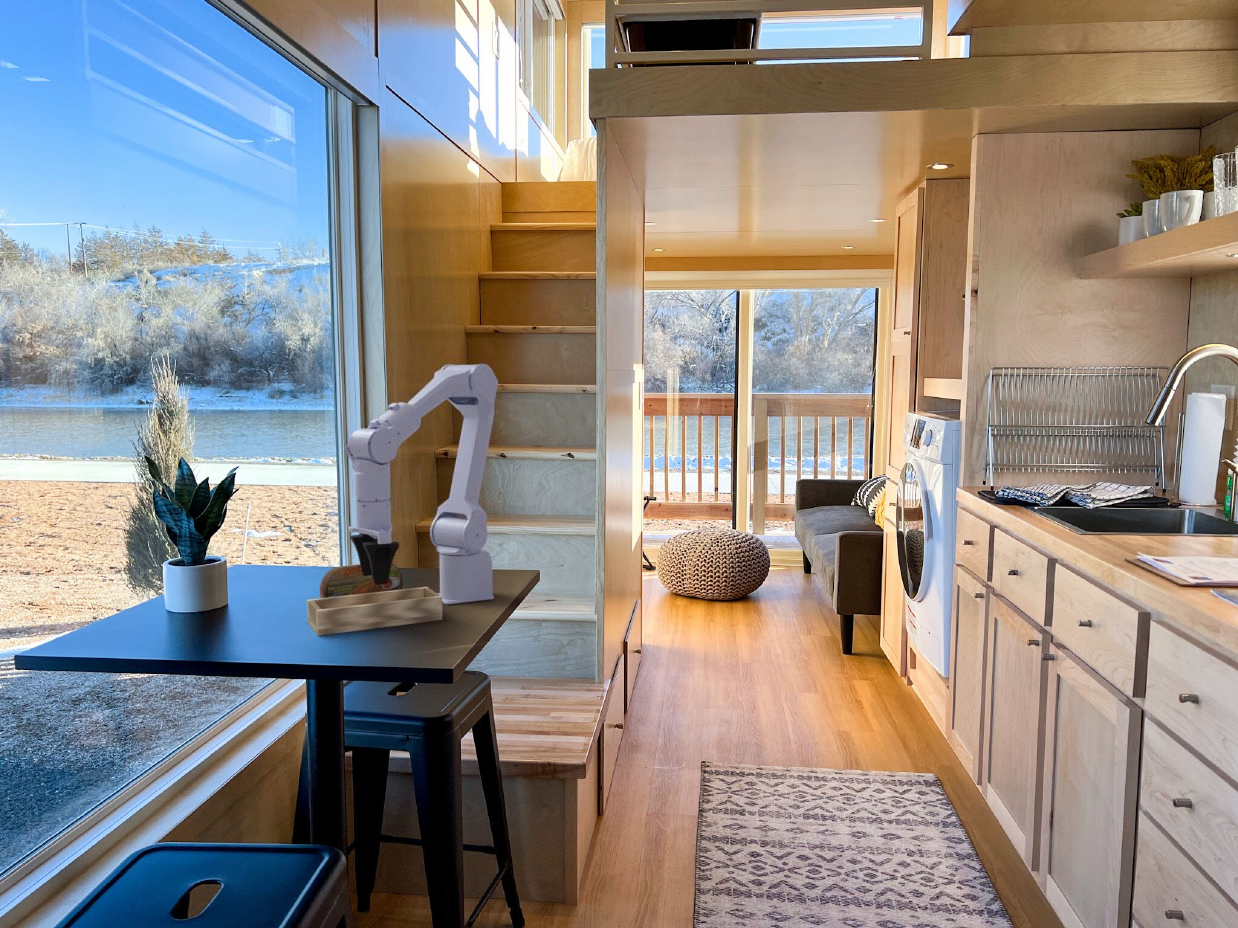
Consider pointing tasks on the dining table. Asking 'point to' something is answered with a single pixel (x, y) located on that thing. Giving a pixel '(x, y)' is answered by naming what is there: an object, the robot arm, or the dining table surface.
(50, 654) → the dining table surface
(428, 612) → the crate
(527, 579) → the dining table surface
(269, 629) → the dining table surface
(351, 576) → the tin
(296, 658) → the dining table surface
